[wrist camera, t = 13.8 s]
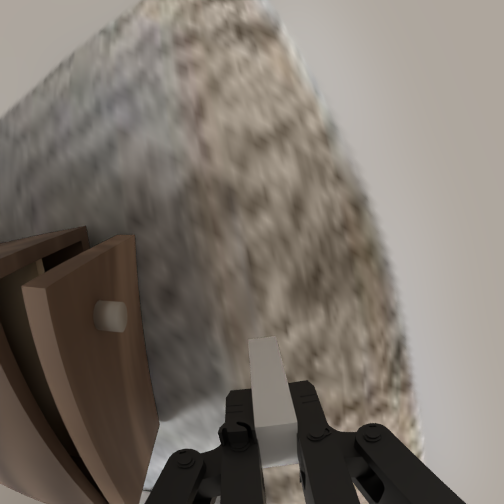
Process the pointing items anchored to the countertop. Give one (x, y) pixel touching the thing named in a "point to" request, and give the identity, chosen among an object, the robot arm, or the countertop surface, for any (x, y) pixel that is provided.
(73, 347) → the door
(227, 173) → the countertop surface
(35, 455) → the cabinet
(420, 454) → the countertop surface
